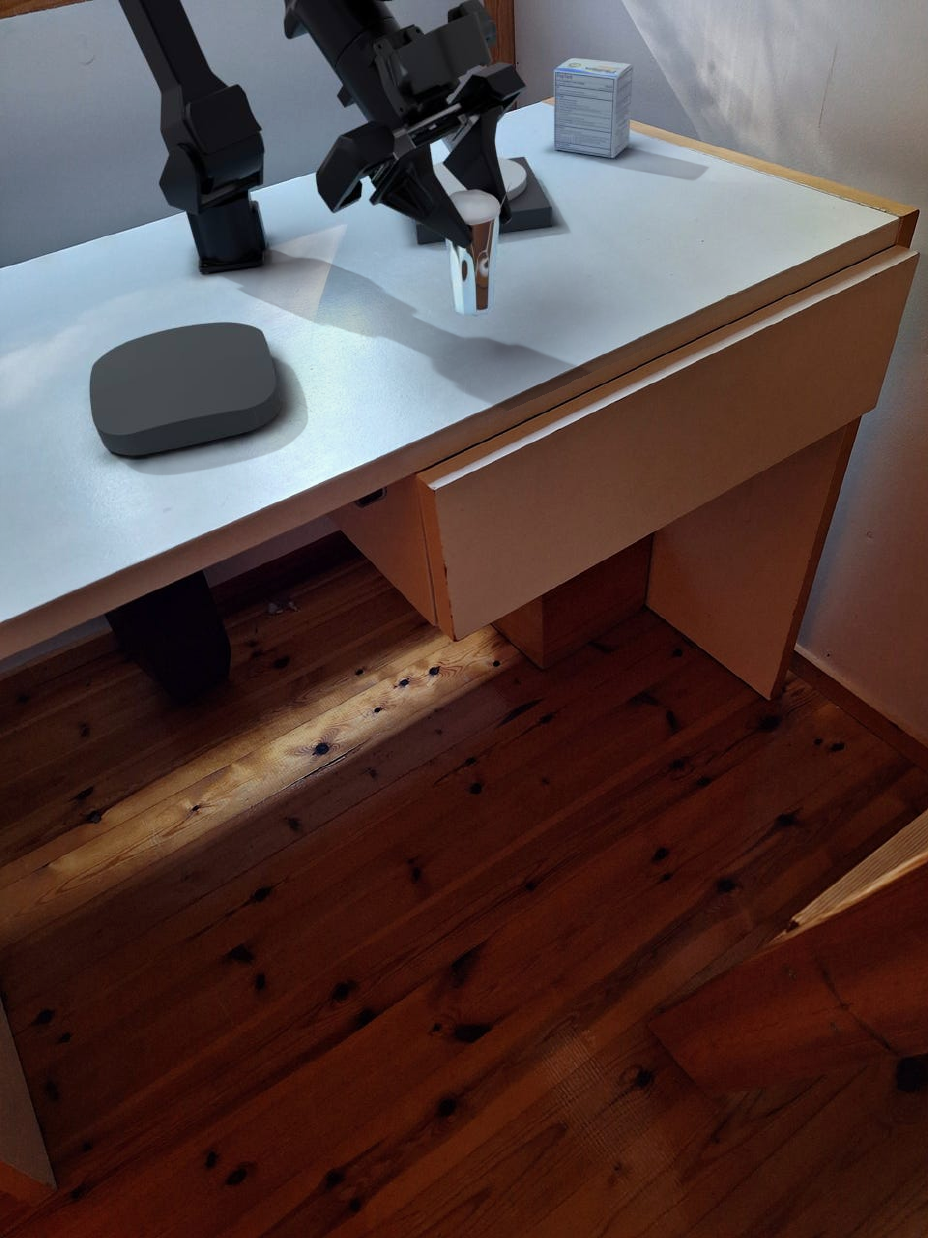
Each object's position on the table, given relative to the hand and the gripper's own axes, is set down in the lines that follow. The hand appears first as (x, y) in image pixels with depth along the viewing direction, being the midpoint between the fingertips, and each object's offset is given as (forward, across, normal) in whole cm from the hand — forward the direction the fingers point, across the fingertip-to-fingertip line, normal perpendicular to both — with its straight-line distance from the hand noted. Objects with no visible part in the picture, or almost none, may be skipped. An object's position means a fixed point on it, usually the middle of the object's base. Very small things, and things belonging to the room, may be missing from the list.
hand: (488, 233), depth 69 cm
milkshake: (+4, 0, +6) cm, 7 cm away
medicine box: (-6, +42, +21) cm, 47 cm away
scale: (-7, +22, +22) cm, 32 cm away
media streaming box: (-4, -19, +20) cm, 28 cm away
